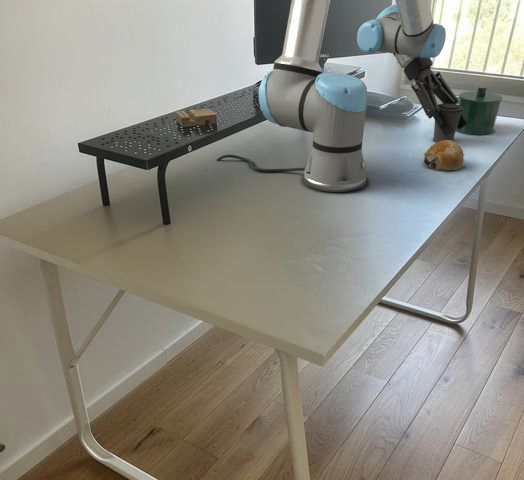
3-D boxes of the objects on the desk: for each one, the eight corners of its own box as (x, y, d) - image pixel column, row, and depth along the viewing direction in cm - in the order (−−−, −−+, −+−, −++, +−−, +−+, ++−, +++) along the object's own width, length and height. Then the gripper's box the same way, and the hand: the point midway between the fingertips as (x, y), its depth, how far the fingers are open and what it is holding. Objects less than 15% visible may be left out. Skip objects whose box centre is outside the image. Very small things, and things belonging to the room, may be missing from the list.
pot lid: (453, 102, 163) (455, 88, 161) (465, 93, 172) (467, 80, 169) (495, 107, 158) (498, 94, 156) (505, 98, 166) (509, 85, 164)
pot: (449, 131, 169) (455, 99, 163) (460, 122, 176) (466, 91, 171) (487, 137, 164) (495, 104, 158) (497, 127, 171) (504, 96, 166)
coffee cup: (423, 138, 163) (429, 102, 157) (447, 135, 165) (454, 99, 159) (438, 146, 157) (445, 109, 151) (463, 143, 159) (470, 106, 153)
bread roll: (457, 185, 143) (477, 157, 139) (424, 168, 141) (443, 139, 136) (447, 171, 151) (466, 145, 147) (416, 155, 149) (434, 127, 144)
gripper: (421, 64, 165) (461, 129, 167) (385, 76, 153) (429, 147, 154) (441, 45, 159) (482, 114, 161) (405, 56, 147) (451, 130, 148)
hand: (456, 130), depth 157 cm, fingers closed on coffee cup, 8 cm apart
